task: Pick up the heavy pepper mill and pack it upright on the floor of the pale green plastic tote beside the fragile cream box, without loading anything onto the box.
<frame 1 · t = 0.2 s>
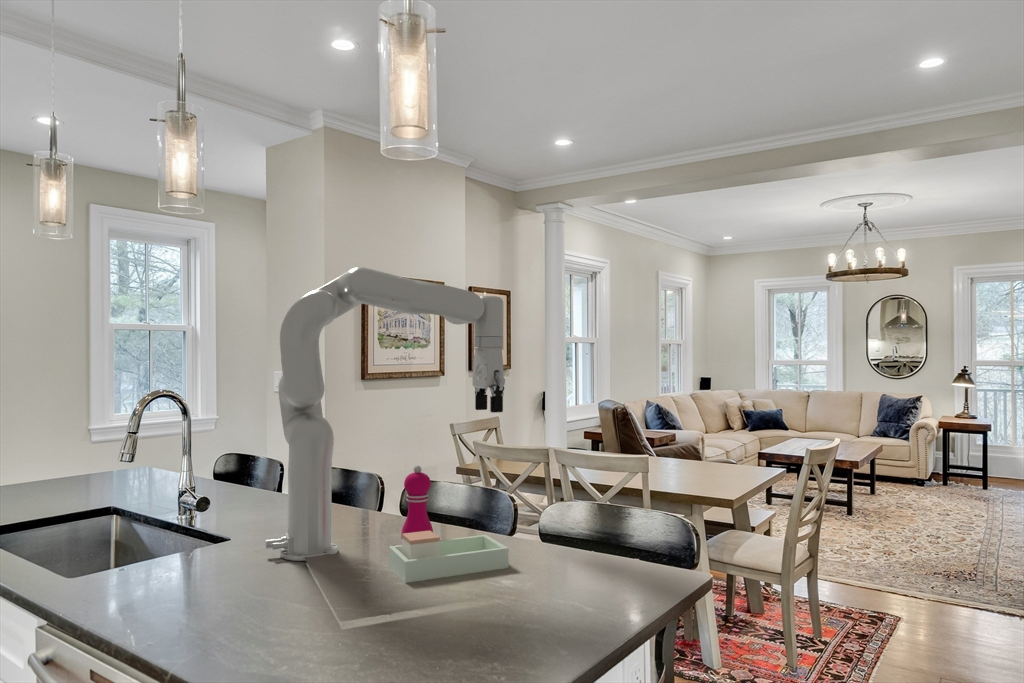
hand: (488, 411, 172), 31 cm above the kitchen island, fingers open, 9 cm apart
tote: (448, 571, 139), on the kitchen island
pepper mill: (417, 555, 152), on the kitchen island
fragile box: (420, 570, 137), point 1 cm above the kitchen island, touching tote
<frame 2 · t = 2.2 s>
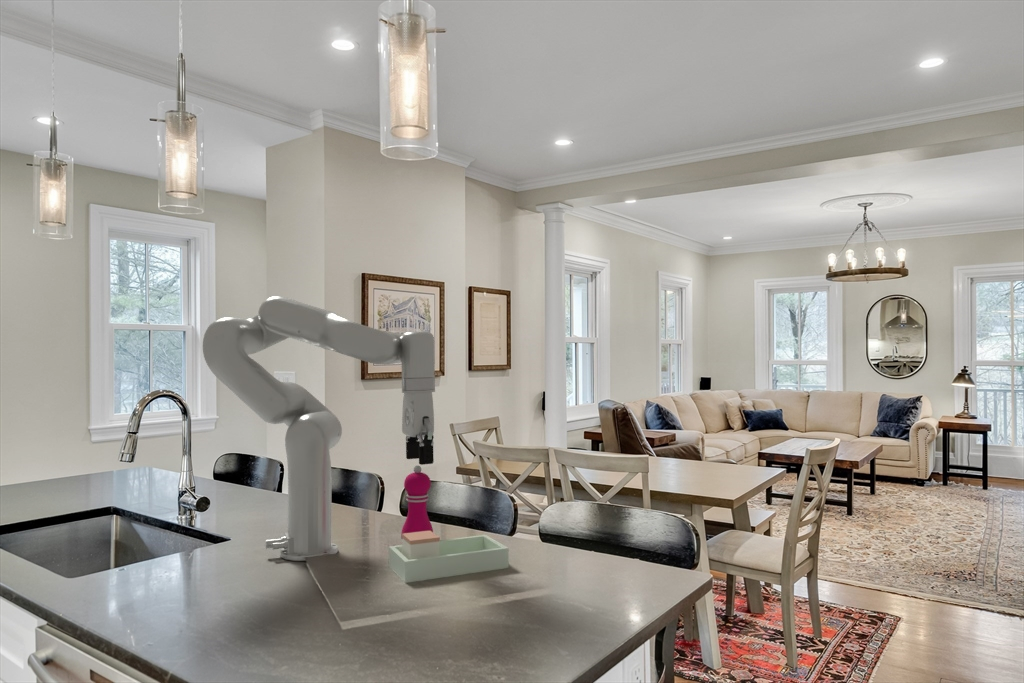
hand: (419, 461, 153), 21 cm above the kitchen island, fingers open, 9 cm apart
nothing on the kitchen island moved.
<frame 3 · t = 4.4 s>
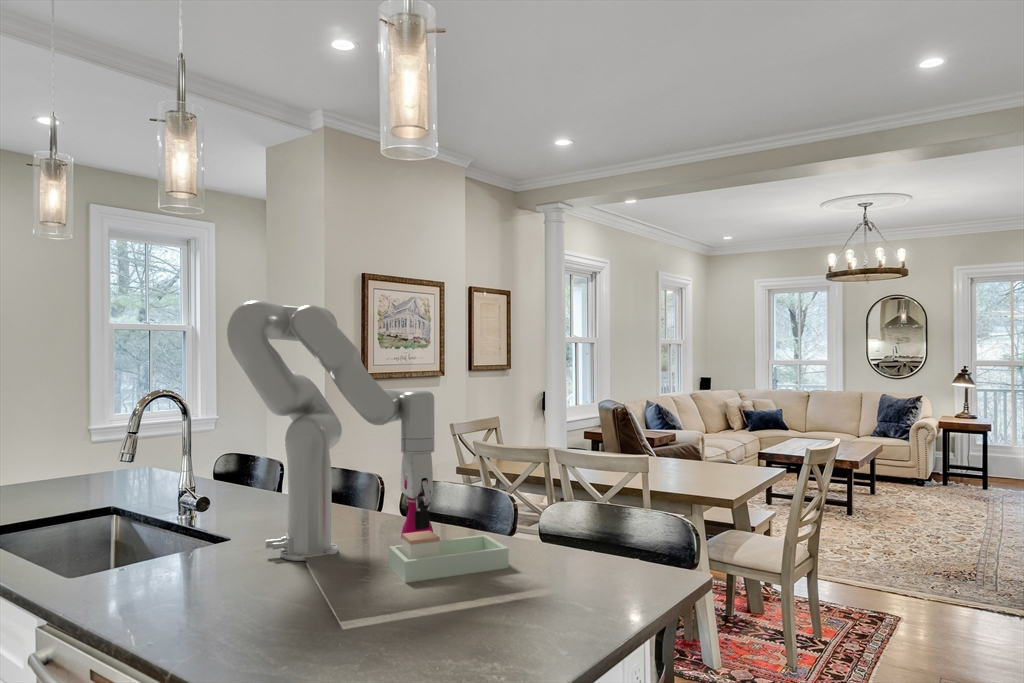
hand: (417, 524, 152), 7 cm above the kitchen island, fingers closed on pepper mill, 5 cm apart
pepper mill: (417, 555, 152), on the kitchen island, touching gripper
everything else where it was.
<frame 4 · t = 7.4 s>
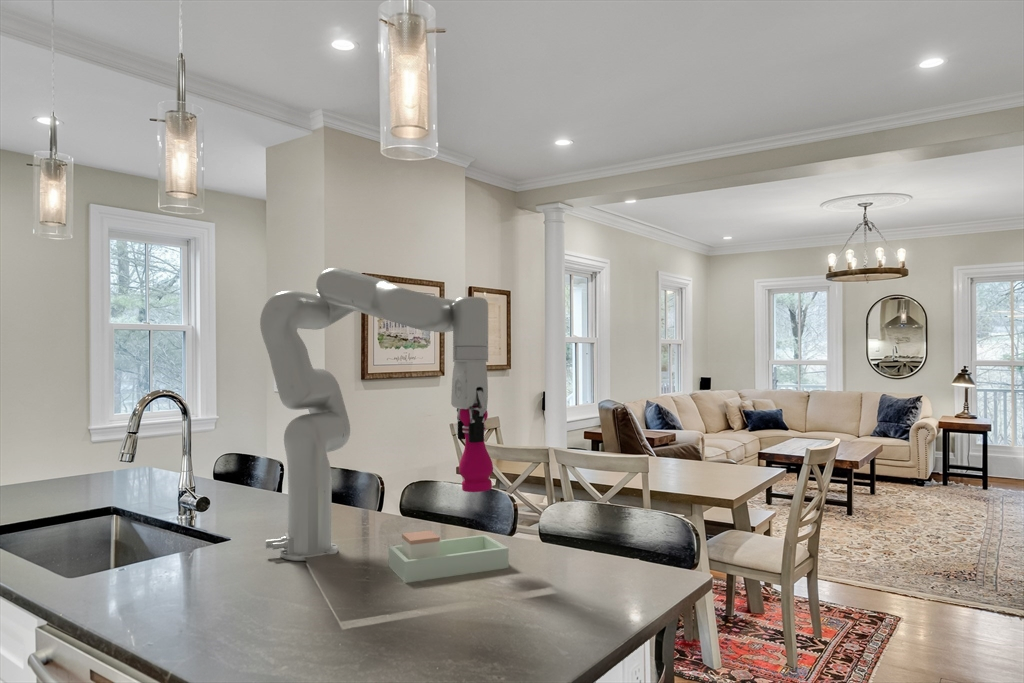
hand: (470, 439, 142), 27 cm above the kitchen island, fingers closed on pepper mill, 5 cm apart
pepper mill: (477, 490, 142), point 16 cm above the kitchen island, touching gripper
everything else where it was.
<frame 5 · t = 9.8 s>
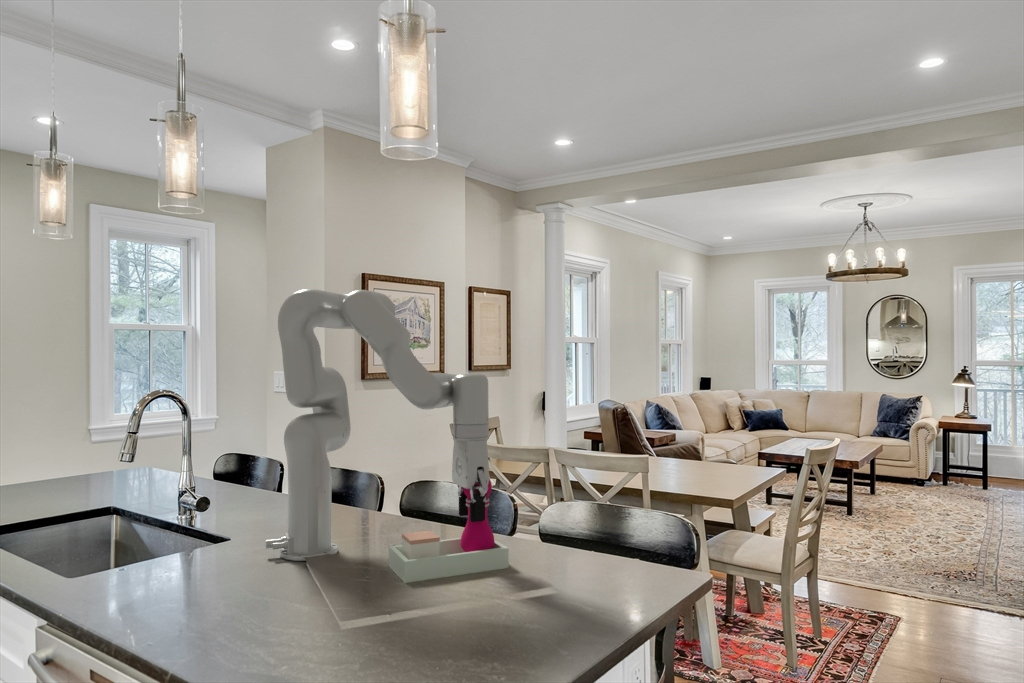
hand: (471, 517, 142), 11 cm above the kitchen island, fingers open, 5 cm apart
pepper mill: (477, 564, 142), point 1 cm above the kitchen island, touching tote
everything else where it was.
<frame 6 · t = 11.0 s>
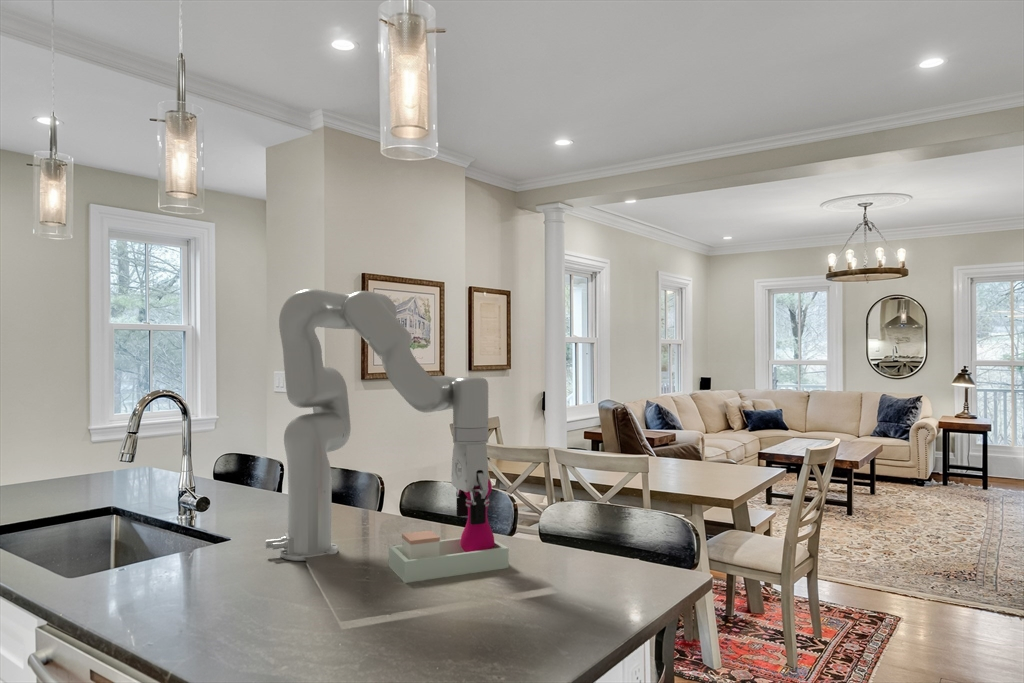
hand: (470, 519, 142), 10 cm above the kitchen island, fingers open, 7 cm apart
nothing on the kitchen island moved.
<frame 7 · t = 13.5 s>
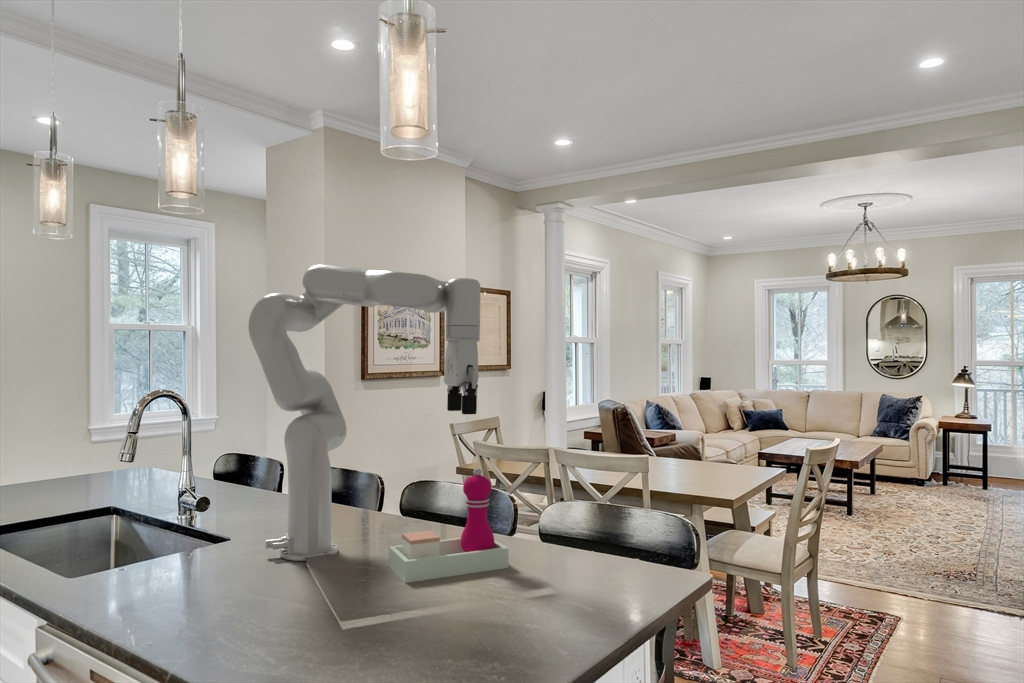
hand: (461, 412, 148), 32 cm above the kitchen island, fingers open, 9 cm apart
nothing on the kitchen island moved.
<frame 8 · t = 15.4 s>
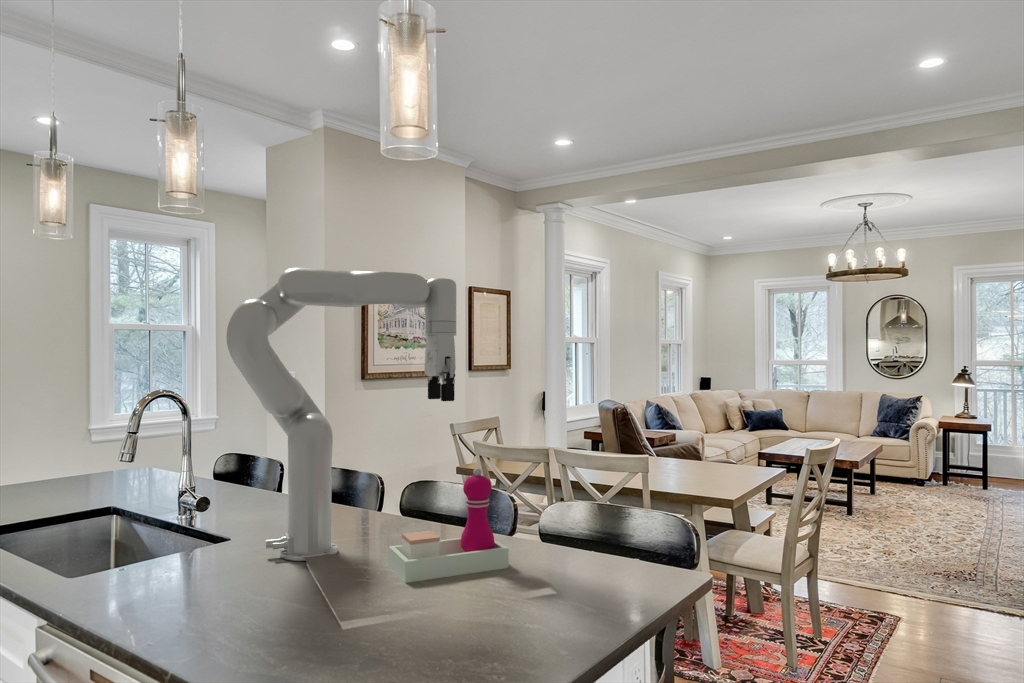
hand: (440, 400, 163), 34 cm above the kitchen island, fingers open, 9 cm apart
nothing on the kitchen island moved.
at the end: pepper mill inside the target area on the tote (1.2 cm from its centre), point 0.8 cm above the tote's base; pepper mill tilted 0°; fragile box moved 0.1 cm from its start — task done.
